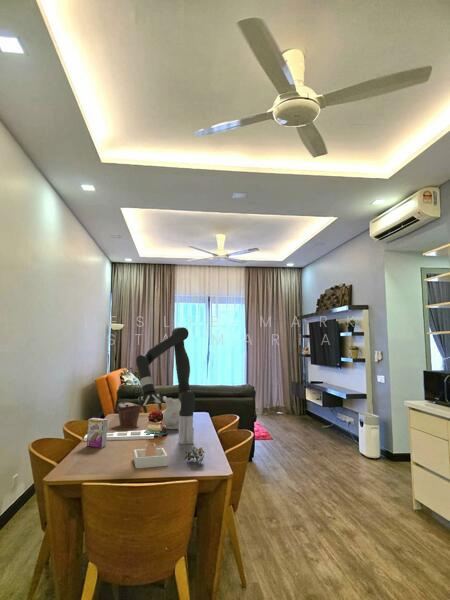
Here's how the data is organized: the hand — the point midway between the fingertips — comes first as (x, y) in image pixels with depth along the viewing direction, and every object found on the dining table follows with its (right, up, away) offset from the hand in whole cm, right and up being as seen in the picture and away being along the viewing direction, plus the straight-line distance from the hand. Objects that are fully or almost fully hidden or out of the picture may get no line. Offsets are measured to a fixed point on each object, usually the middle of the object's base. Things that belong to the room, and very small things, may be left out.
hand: (153, 411), depth 214 cm
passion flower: (+25, -22, -19) cm, 39 cm away
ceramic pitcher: (+2, -34, +69) cm, 77 cm away
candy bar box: (-38, -26, +12) cm, 47 cm away
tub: (+2, -21, -18) cm, 27 cm away
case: (-34, -34, +74) cm, 88 cm away
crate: (+2, -22, -18) cm, 28 cm away
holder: (-30, -30, +38) cm, 56 cm away
